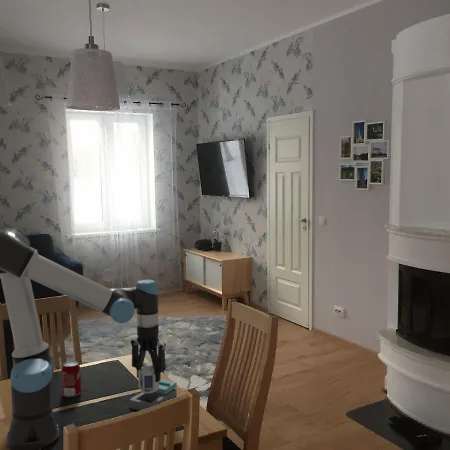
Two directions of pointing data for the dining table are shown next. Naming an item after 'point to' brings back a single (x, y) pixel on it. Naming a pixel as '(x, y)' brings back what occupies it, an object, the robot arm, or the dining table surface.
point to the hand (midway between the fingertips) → (148, 388)
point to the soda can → (71, 379)
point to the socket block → (150, 399)
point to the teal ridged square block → (166, 386)
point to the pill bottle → (147, 378)
